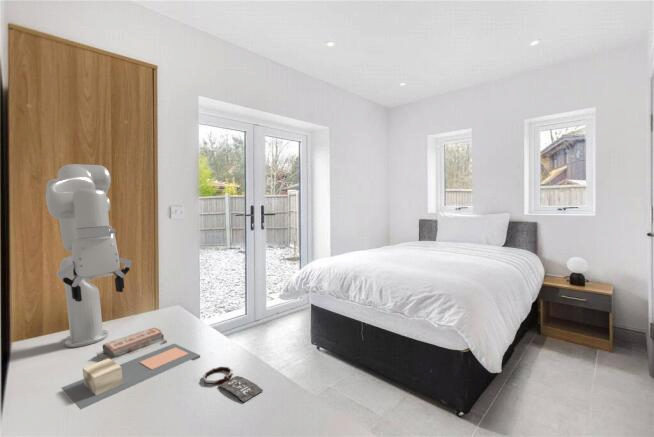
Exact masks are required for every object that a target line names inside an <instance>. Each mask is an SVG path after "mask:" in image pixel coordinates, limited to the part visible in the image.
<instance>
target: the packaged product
mask: <svg viewBox="0 0 654 437" xmlns="http://www.w3.org/2000/svg"><path fill="white" fill-rule="evenodd" d="M167 342H168V340H167V339H165V336H164V334H163V332H162V330H161V329H160V328H157V327H152V328H151V327H150V328H148V329H146V330H142V331H139V332H136V333H133V334H130V335H127V336H124V337H120V338H117V339H114V340H111V341H109V342H106V343H104V344H102V350H101V351H98V352H96V356H97V358H99V359H101V361H103V360H105V359H108V358H109V359H111V360H112V361H113V362H115V361H117V360H119V359H122V358H125V357H127V356H130V355H132V354H135V353H138V352H140V351H141V352H142V351H144V350H147V349H149V348H151V347H153V346H154V347H155V346H156V345H160V346H161V345H163V344H164V345H165V344H166V343H167Z"/></svg>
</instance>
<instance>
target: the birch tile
mask: <svg viewBox="0 0 654 437" xmlns="http://www.w3.org/2000/svg"><path fill="white" fill-rule="evenodd" d="M119 365H120V364H118V363H117V362H115V361H112V360H111V359H109V358H108V359H105V360H100V361H97V362H95V363H93V364H89V365H87V366H84V367H82V373H83V374H82V375H83V379H84V384H85V385H86V386H87V387H88V388H89V389H90V390H91V391H92V392H93V393H94V394H95V395H98V394H100V393H102V392H105V391H107V390H109V389H112V388H114V387H116V386H118V385H121V384H123V378H122V367H121V366H119Z"/></svg>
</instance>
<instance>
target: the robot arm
mask: <svg viewBox="0 0 654 437" xmlns="http://www.w3.org/2000/svg"><path fill="white" fill-rule="evenodd" d="M111 180H112V177H111V174H110V171H109V170H108V168H106V167H105V166H104V165H101V164H100V165H99V164H82V163H81V164H78V163H75V164H74V163H72V164H66V165H64V166H62V167H61V168H59V170H58V172H57V178H53V179H50V180H48V181H47V182H46V187H45V189H46V192H45V204H46V207H47V210H48V212H49V215H50V216H51V217H52V218H55V219H57V220H58V221H59V230H60V235H61V237H60V238H61V243H62V247H63V249H64V250H65V251H66V252H71V255H68V256H66V257H64V258H63V259H62V260H61V262H60V263H59V264H60V265H59V270H58V271H56V273H55V275H56V276H57V277H58V278H59V280H61V282H62V283H63V285H64V290H65V298H66V308H67V318H68V326H69V327H68V329H69V338H67V339H66V340H65V341H64V345H65V347H68V348H78V347H83V346H88V345H89V346H90V345H91V344H94V343H98V342H101V341H102V340H104V339H105V338H107V337H108V336H109V331H108V330H106V329H104V328H103V319H102V316H103V315H102V308H101V307H102V306H101V296H100V290H99V288H98V287H97V286H96V285H95V283H92V282H91V280H94V279H98V278H105V277H111V276H114V275H115V276H116V277H115V278H114V286H115V292H117V293H123V292H124V289H125V281H124V278H125V276H126V275H127V273H128V272H130V268H131V266H132V263H133V260H131V259H127V258H125V257H124V258H123V257H121V256H119V251H118V245H117V241H116V240H117V239H116V232H117V231H116V230H117V229H116V228H112V226H111V225H110V219H109V212H110V211H111V201H110V198H109V197H108V196H107V195H108V192H109V189H110V187H111V183H112V181H111ZM120 263H121V264H123V265H124V266H123V267H122V269H121V270H120V266H121V264H120Z"/></svg>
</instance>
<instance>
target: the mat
mask: <svg viewBox="0 0 654 437" xmlns="http://www.w3.org/2000/svg"><path fill="white" fill-rule="evenodd" d="M199 358H201V354H199V353H196V352H194V351H192V350H190V349H187V348H185V347H183V346H182V345H181V346H180V345H178V344H176V343H171V344H170V345H167V346H165V347H162V348H159V349H157V350H154V351H151V352H148V353H146V354H144V355H141V356H138V357H135V358H134V359H130V360H128V361H126V362H123V363H122V364H118V365H119V366H121V367H122V378H123V384H121V385H118V386H116V387H114V388H112V389H109V390H107V391H105V392H102V393H100V394H98V395H95V394H94V393H93V392H92V391H91V390H90V389H89V388H88V387H87V386H86V385H85V384H84V378H83V379H80V380H78V381H75V382H72V383H69V384H67V385H65V386H62V387H61V389H62V390H63V391H64V393H65V394H66V395H67V396H68V397H69V398H70V399H71V400H72V401H73V403H74V404H75V405H76V406H77V407H78V408H79V409H80V410H83V409H85V408H87V407H89V406H92V405H94V404H97V403H98V402H100V401H103V400H105V399H107V398H109V397H111V396H113V395H116V394H118V393H119V392H122V391H125V390H127V389H129V388H132V387H133V386H136V385H138V384H140V383H142V382H144V381H146V380H149V379H151V378H153V377H156V376H158V375H159V374H163V373H164V372H167V371H169V370H171V369H173V368H175V367H178V366H180V365H182V364H184V363H186V362H188V361H190V360H191V361H195V360H197V359H199Z"/></svg>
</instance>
